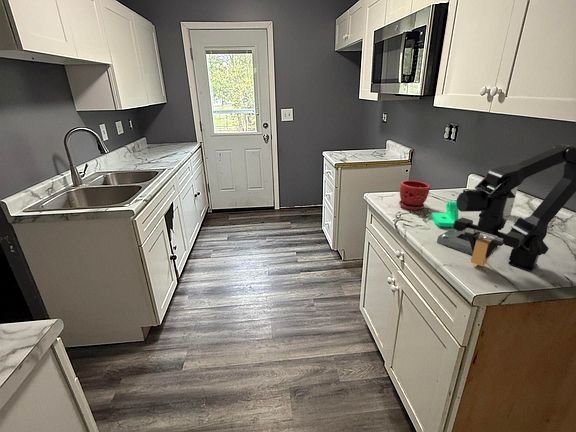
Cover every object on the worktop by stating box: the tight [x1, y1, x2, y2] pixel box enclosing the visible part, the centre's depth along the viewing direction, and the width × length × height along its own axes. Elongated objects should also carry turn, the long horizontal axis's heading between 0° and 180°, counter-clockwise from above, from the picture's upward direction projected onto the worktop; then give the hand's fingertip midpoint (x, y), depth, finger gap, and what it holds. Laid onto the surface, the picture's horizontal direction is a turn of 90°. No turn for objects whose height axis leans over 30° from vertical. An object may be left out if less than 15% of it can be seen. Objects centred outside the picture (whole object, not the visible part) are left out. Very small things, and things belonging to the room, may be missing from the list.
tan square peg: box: [470, 237, 491, 267], centre depth 101 cm, size 4×4×8 cm
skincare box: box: [503, 186, 519, 218], centre depth 142 cm, size 8×6×15 cm
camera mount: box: [431, 200, 459, 228], centre depth 134 cm, size 12×8×10 cm, turn 171°
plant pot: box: [398, 180, 431, 211], centre depth 152 cm, size 13×13×12 cm
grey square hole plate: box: [436, 227, 494, 256], centre depth 117 cm, size 14×14×3 cm
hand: (480, 255), depth 101 cm, fingers closed on tan square peg, 3 cm apart
